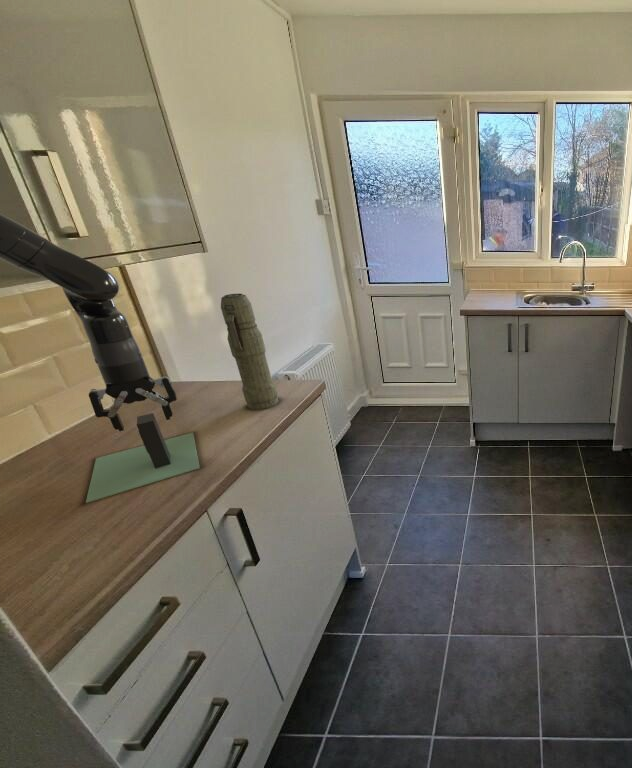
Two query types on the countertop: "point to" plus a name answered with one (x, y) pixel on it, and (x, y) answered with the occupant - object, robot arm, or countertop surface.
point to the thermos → (248, 352)
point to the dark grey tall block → (153, 440)
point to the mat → (140, 468)
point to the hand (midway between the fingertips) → (145, 424)
